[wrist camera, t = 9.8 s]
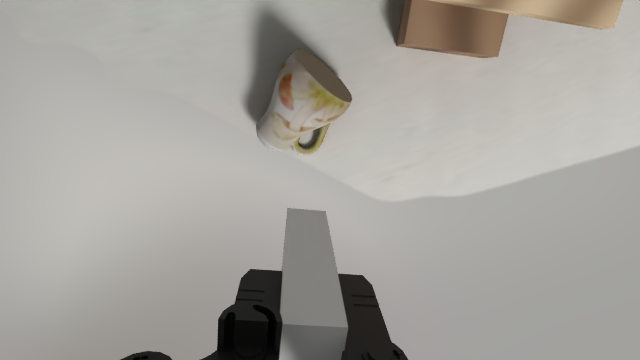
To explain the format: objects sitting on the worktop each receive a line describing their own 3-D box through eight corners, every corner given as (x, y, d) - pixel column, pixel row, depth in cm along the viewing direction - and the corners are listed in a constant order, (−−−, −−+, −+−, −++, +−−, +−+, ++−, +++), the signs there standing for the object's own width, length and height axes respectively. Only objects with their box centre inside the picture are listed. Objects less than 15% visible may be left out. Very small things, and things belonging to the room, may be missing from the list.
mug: (238, 126, 38) (235, 81, 29) (303, 74, 41) (321, 18, 31) (286, 177, 38) (300, 150, 28) (348, 121, 41) (380, 79, 31)
